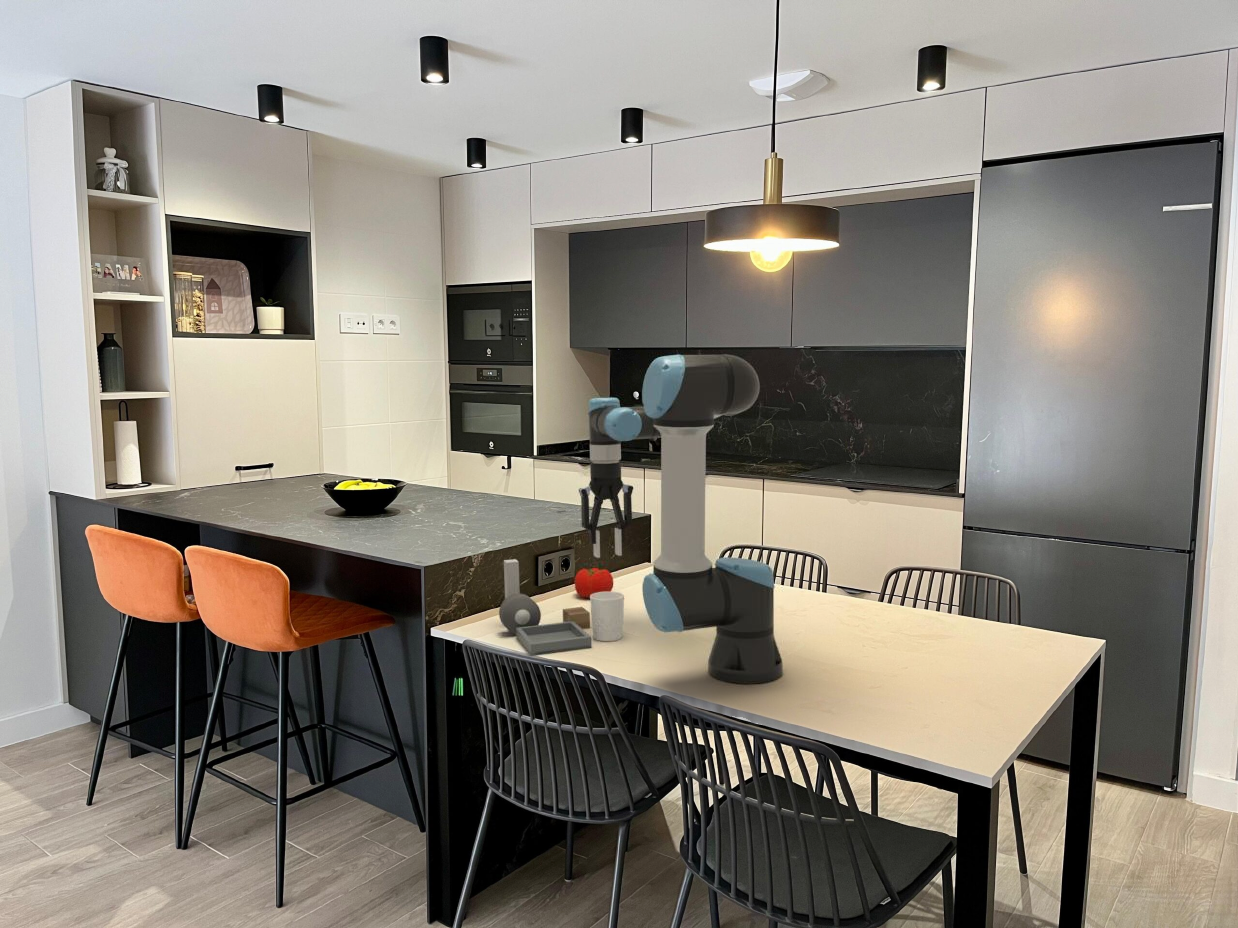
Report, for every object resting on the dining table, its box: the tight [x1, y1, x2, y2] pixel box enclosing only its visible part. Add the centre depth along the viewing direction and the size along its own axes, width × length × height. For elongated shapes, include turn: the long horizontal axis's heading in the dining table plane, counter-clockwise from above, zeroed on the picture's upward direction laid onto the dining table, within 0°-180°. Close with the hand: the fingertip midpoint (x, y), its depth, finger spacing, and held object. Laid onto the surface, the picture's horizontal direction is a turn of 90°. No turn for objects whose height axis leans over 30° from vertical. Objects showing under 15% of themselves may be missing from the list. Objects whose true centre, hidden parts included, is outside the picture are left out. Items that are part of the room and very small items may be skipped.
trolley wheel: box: [498, 558, 542, 636], centre depth 219 cm, size 12×9×16 cm
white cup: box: [589, 591, 625, 642], centre depth 211 cm, size 8×8×10 cm
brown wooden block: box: [562, 606, 591, 630], centre depth 221 cm, size 6×5×4 cm
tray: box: [515, 621, 593, 656], centre depth 208 cm, size 14×14×2 cm
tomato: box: [574, 567, 614, 599], centre depth 250 cm, size 11×11×8 cm
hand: (607, 555), depth 223 cm, fingers open, 5 cm apart
